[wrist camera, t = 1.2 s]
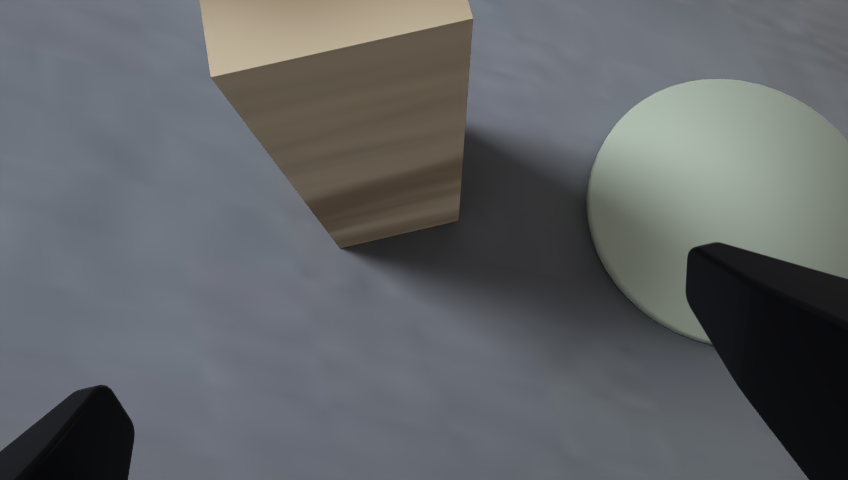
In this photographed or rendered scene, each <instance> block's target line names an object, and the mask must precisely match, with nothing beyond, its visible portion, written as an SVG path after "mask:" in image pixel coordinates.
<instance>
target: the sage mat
mask: <svg viewBox="0 0 848 480" xmlns="http://www.w3.org/2000/svg"><path fill="white" fill-rule="evenodd" d="M586 205H587V218H588V224H589V229H590V233H591V237H592V240H593V243H594V246H595V249H596V251H597V254H598V256H599V258H600V260H601V262H602V264H603V266H604V268H605V270H606V271H607V273H608V274H609V276H610V277H611V278H612V280H613V281H614V283H615V284H616V286H617V287H618V288H619V289H620V290H621V291H622V293H623V294H624V295H625V296H626V297H627V298H628V299H629V300H630V301H631V302H632V303H633V304H634V305H635V306H636V307H638V308H639V309H640V310H641V311H642V312H643V313H645V314H646V315H647V316H649V317H650V318H652V319H653V320H655V321H656V322H657V323H659V324H661V325H662V326H664V327H666V328H668V329H670V330H672V331H674V332H675V333H678V334H680V335H683V336H685V337H688V338H690V339H693V340H696V341H700V342H703V343H707V344H711V345H712V343H711V341H710V340H709V338H708V336H707V335H706V333H705V331H704V330H703V328H702V326H701V325H700V323H699V321H698V320H697V318H696V316H695V315H694V313H693V311H692V310H691V308H690V306H689V304H688V302H687V298H686V291H685V289H686V271H687V257H688V253H689V251H690V250H691V249H692V248H693V247H696V246H700V245H704V244H708V243H713V242H721V243H724V244H728V245H731V246H735V247H738V248H742V249H745V250H749V251H752V252H755V253H759V254H762V255H766V256H769V257H773V258H776V259H780V260H783V261H787V262H790V263H794V264H797V265H801V266H804V267H808V268H811V269H814V270H818V271H821V272H825V273H828V274H832V275H835V276H839V277H842V278H846V279H848V141H847V140H846V139H845V138H844V137H843V135H842V134H841V133H840V132H839V131H838V130H837V129H836V128H835V127H834V126H833V125H832V124H831V123H830V122H828V121H827V120H826V119H825V118H824V117H823V116H821V115H820V114H819V113H817V112H816V111H814V110H813V109H812V108H810V107H809V106H807V105H805V104H804V103H802V102H800V101H799V100H797V99H795V98H793V97H791V96H789V95H787V94H784V93H782V92H780V91H778V90H775V89H772V88H769V87H766V86H763V85H760V84H755V83H750V82H745V81H739V80H729V79H705V80H698V81H690V82H686V83H682V84H678V85H674V86H671V87H669V88H666V89H664V90H661V91H659V92H657V93H655V94H653V95H651V96H649V97H648V98H646V99H644V100H643V101H641V102H640V103H639V104H637V105H636V106H635V107H633V108H632V109H631V110H629V111H628V112H627V113H626V114H625V115H624V116H623V117H622V118H621V119H620V120H619V121H618V123H617V124H616V125H615V127H614V128H613V129H612V131H611V132H610V133H609V135H608V136H607V138H606V140H605V141H604V143H603V145H602V147H601V148H600V150H599V152H598V154H597V156H596V158H595V161H594V164H593V166H592V169H591V172H590V177H589V182H588V186H587V201H586Z"/></svg>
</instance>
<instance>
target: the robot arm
mask: <svg viewBox="0 0 848 480" xmlns="http://www.w3.org/2000/svg"><path fill="white" fill-rule="evenodd" d="M685 291H686V298H687V302H688V304H689V306H690V308H691V310H692V311H693V313H694V315H695V316H696V318H697V320H698V321H699V323H700V325H701V326H702V328H703V330H704V331H705V333H706V335H707V336H708V338H709V340H710V341H711V343H712V345H713V346H714V348H715V350H716V351H717V353H718V355H719V356H720V358H721V359H722V361H723V363H724V364H725V366H726V368H727V369H728V371H729V373H730V374H731V376H732V377H733V379H734V380H735V382H736V384H737V385H738V387H739V388H740V389H741V391H742V392H743V394H744V395H745V396H746V398H747V399H748V400H749V402H750V403H751V404H752V406H753V407H754V408H755V410H756V411H757V412H758V414H759V415H760V416H761V417H762V419H763V420H764V421H765V423H766V424H767V425H768V427H769V428H770V429H771V431H772V432H773V433H774V434H775V436H776V437H777V438H778V440H779V441H780V442H781V444H782V445H783V446H784V447H785V449H786V450H787V451H788V453H789V454H790V455H791V457H792V458H793V459H794V461H795V462H796V463H797V464H798V466H799V467H800V468H801V470H802V471H803V472H804V474H805V475H806V476H807V478H808V479H809V480H848V279H846V278H842V277H839V276H835V275H832V274H828V273H825V272H821V271H818V270H814V269H811V268H808V267H804V266H801V265H797V264H794V263H790V262H787V261H783V260H780V259H776V258H773V257H769V256H766V255H762V254H759V253H755V252H752V251H749V250H745V249H742V248H738V247H735V246H731V245H728V244H724V243H721V242H713V243H708V244H704V245H700V246H696V247H693V248H692V249H691V250H690V251H689V253H688V257H687V271H686V289H685ZM133 444H134V426H133V423H132V421H131V419H130V418H129V416H128V414H127V413H126V411H125V410H124V408H123V407H122V405H121V403H120V402H119V400H118V399H117V397H116V396H115V394H114V393H113V391H112V390H111V389H110V388H109V387H108V386H105V385H98V386H94V387H89V388H85V389H81V390H78V391H75V392H74V393H72V394H71V395H70V396H68V397H67V398H66V399H65V400H64V401H62V402H61V403H60V404H59V405H57V406H56V407H55V408H54V409H52V410H51V411H50V412H49V413H47V414H46V415H45V416H44V417H43V418H41V419H40V420H39V421H38V422H36V423H35V424H34V425H33V426H31V427H30V428H29V429H28V430H26V431H25V432H24V433H23V434H21V435H20V436H19V437H18V438H17V439H15V440H14V441H13V442H12V443H10V444H9V445H8V446H7V447H5V448H4V449H3V450H2V451H0V480H128V475H129V469H130V463H131V456H132V450H133Z"/></svg>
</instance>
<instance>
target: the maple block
mask: <svg viewBox="0 0 848 480" xmlns="http://www.w3.org/2000/svg"><path fill="white" fill-rule="evenodd" d="M200 6H201V13H202V20H203V27H204V33H205V40H206V47H207V54H208V61H209V68H210V75H211V78H212V79H213V81H214V82H215V83H216V85H217V86H218V87H219V89H220V90H221V91H222V93H223V94H224V95H225V97H226V98H227V99H228V101H229V102H230V103H231V105H232V106H233V107H234V109H235V110H236V111H237V113H238V114H239V115H240V117H241V118H242V119H243V121H244V122H245V123H246V125H247V126H248V127H249V128H250V130H251V131H252V132H253V134H254V135H255V136H256V138H257V139H258V140H259V142H260V143H261V144H262V146H263V147H264V148H265V150H266V151H267V152H268V154H269V155H270V156H271V158H272V159H273V160H274V162H275V163H276V164H277V166H278V167H279V168H280V170H281V171H282V172H283V174H284V175H285V176H286V177H287V179H288V180H289V181H290V183H291V184H292V185H293V187H294V188H295V189H296V191H297V192H298V193H299V195H300V196H301V197H302V199H303V200H304V201H305V203H306V204H307V205H308V207H309V208H310V209H311V211H312V212H313V213H314V215H315V216H316V217H317V219H318V220H319V221H320V223H321V224H322V225H323V227H324V228H325V229H326V230H327V232H328V233H329V234H330V236H331V237H332V238H333V240H334V241H335V242H336V244H337V245H338V246H339V248H344V247H348V246H352V245H357V244H361V243H365V242H370V241H374V240H378V239H383V238H387V237H391V236H395V235H400V234H404V233H408V232H413V231H417V230H421V229H426V228H430V227H434V226H439V225H443V224H447V223H451V222H456V221H459V208H460V194H461V180H462V166H463V152H464V138H465V124H466V110H467V96H468V82H469V68H470V54H471V40H472V26H473V17H472V13H471V10H470V6H469V3H468V0H200Z"/></svg>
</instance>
